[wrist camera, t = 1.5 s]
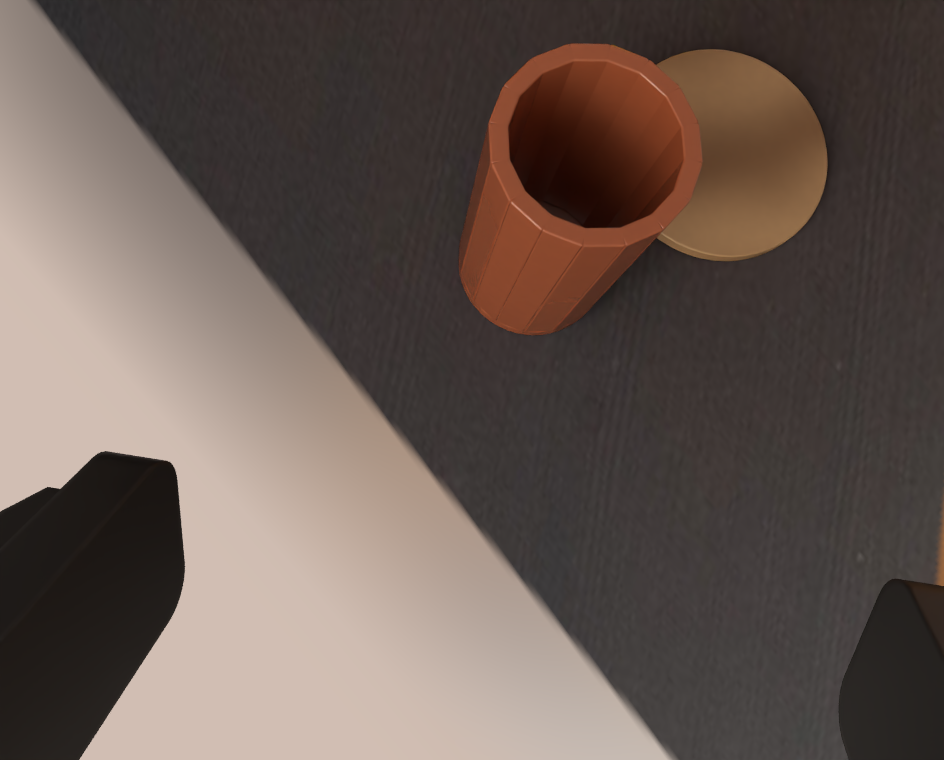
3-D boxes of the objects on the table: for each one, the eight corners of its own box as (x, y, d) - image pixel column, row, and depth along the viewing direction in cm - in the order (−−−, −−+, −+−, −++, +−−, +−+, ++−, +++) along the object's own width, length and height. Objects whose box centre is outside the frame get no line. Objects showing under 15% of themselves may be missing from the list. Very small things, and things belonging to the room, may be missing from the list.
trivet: (572, 101, 31) (576, 93, 31) (758, 27, 33) (765, 18, 32) (670, 296, 30) (676, 291, 30) (857, 211, 32) (866, 206, 31)
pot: (434, 226, 30) (453, 86, 20) (564, 173, 31) (643, 13, 21) (496, 358, 29) (547, 280, 20) (627, 300, 30) (739, 197, 20)
